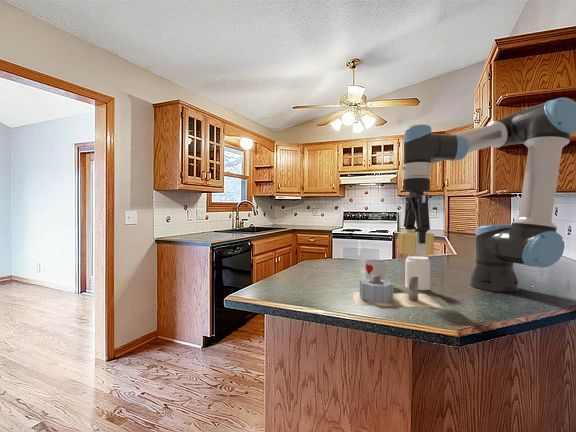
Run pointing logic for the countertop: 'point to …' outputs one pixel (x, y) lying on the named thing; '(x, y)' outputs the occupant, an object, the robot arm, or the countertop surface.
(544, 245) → the robot arm
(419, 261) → the beverage can
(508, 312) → the countertop surface
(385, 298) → the gear
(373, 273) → the cup
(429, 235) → the gear
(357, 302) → the gear board
